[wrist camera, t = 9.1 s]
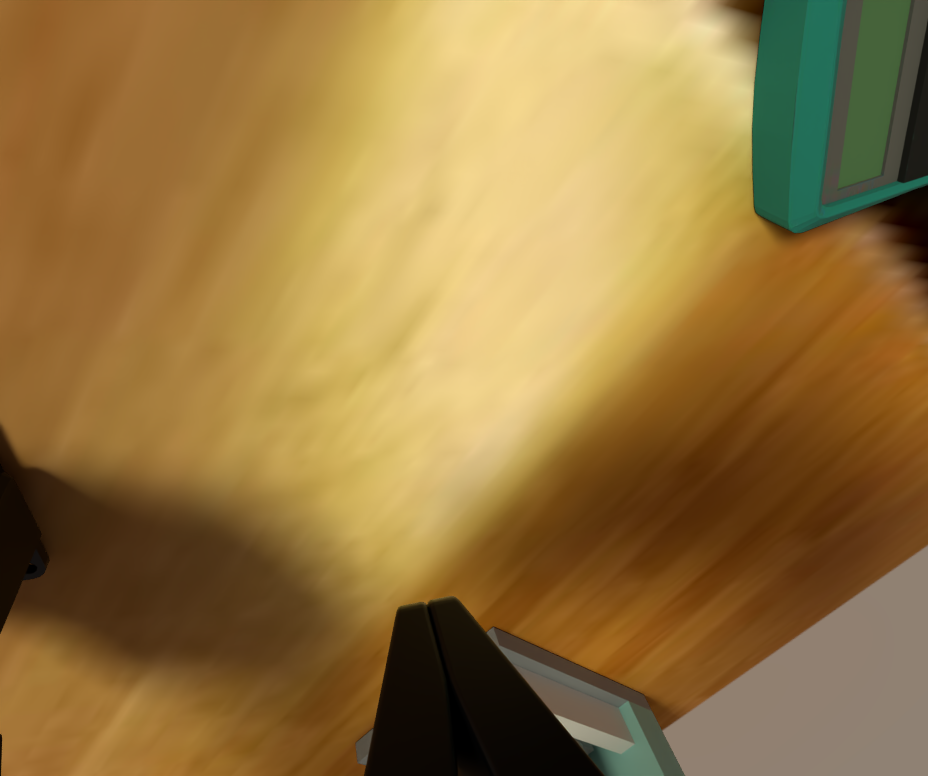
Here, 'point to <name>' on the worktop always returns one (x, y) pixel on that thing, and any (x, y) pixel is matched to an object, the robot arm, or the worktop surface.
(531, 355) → the worktop surface
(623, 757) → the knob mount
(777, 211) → the digital multimeter
